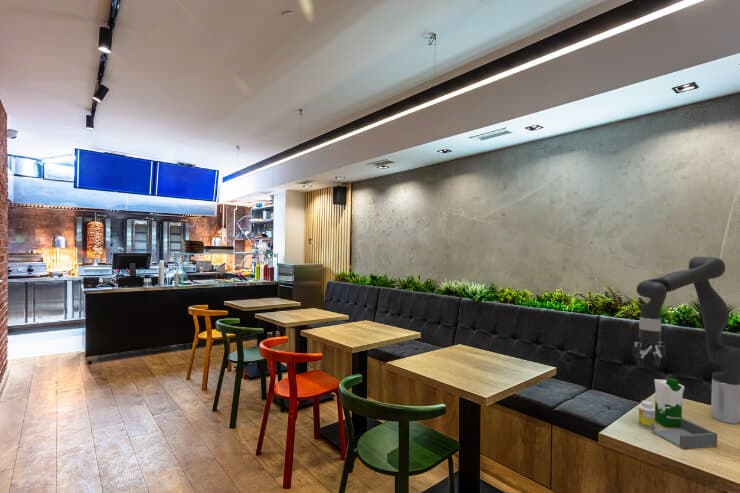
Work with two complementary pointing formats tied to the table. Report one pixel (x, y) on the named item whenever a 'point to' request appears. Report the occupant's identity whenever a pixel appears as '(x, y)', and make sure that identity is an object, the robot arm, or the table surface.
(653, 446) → the table surface
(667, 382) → the soya milk
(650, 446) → the table surface
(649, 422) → the supplement bottle
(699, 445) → the corner arena
